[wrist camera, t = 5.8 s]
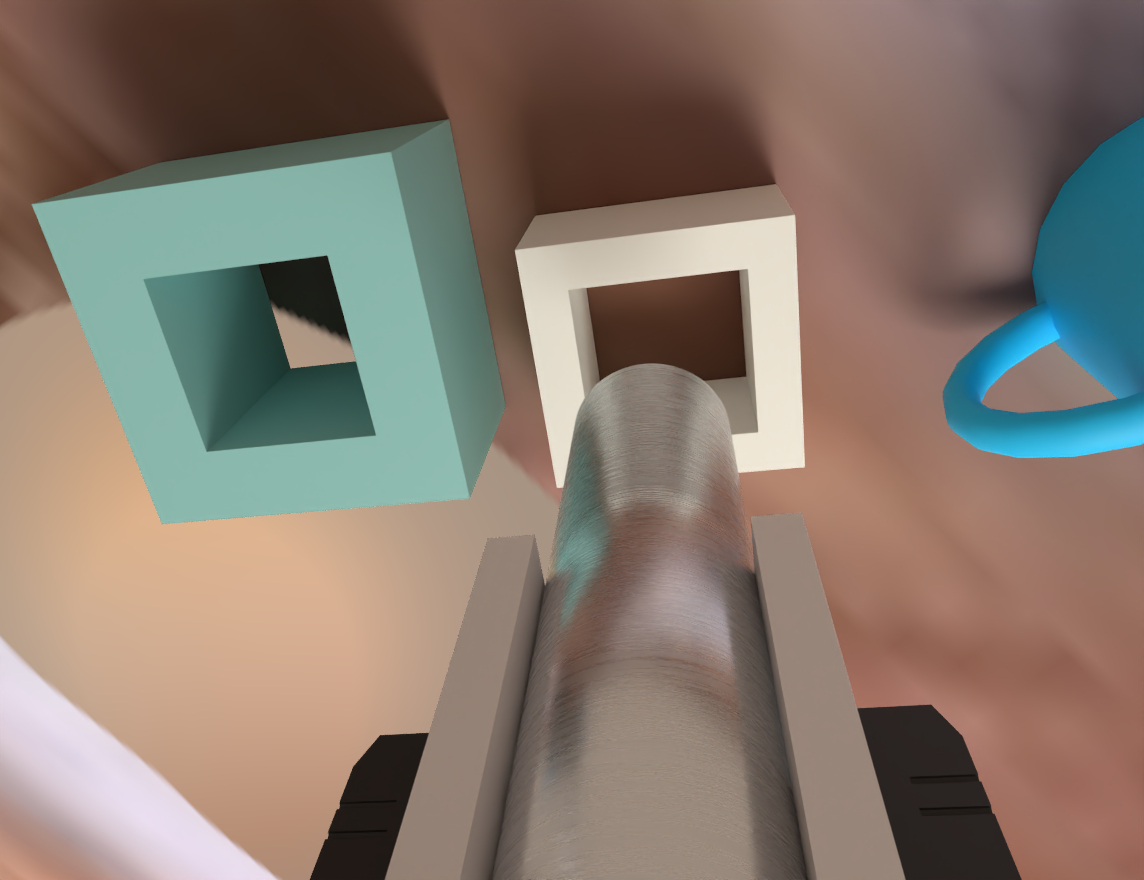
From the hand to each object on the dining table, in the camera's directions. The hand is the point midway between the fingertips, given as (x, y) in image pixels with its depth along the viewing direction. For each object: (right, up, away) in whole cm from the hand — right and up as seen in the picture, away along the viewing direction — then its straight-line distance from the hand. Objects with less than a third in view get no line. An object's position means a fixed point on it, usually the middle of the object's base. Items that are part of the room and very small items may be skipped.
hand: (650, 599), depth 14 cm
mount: (+2, +6, +13) cm, 15 cm away
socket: (-9, +7, +14) cm, 18 cm away
